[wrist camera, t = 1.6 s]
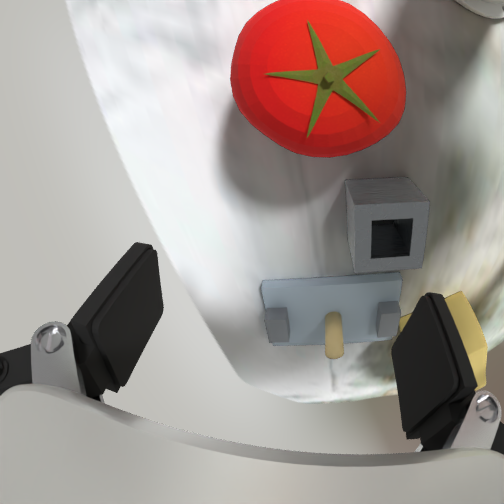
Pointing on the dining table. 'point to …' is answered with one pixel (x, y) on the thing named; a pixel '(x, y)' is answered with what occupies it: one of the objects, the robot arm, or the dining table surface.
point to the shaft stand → (332, 310)
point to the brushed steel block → (387, 235)
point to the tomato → (317, 77)
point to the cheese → (466, 334)
